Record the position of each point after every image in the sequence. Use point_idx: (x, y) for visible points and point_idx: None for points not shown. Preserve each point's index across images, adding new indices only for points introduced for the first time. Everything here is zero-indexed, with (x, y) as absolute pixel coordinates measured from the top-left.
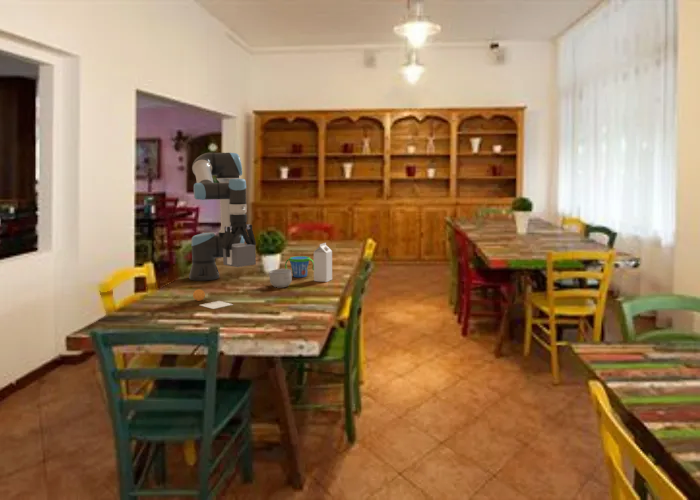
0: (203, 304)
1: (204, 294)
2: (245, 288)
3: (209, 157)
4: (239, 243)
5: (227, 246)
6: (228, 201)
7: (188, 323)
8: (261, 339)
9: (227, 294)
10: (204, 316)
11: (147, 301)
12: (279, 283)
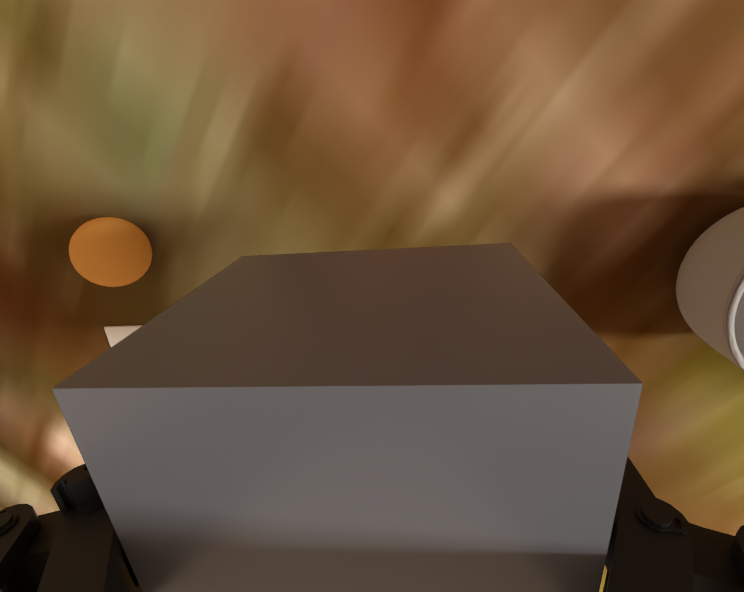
0: (124, 336)
1: (134, 280)
2: (535, 136)
3: None
4: (542, 418)
5: (94, 547)
6: None
7: (9, 503)
8: None
9: (333, 215)
10: None
11: None
12: (690, 327)
